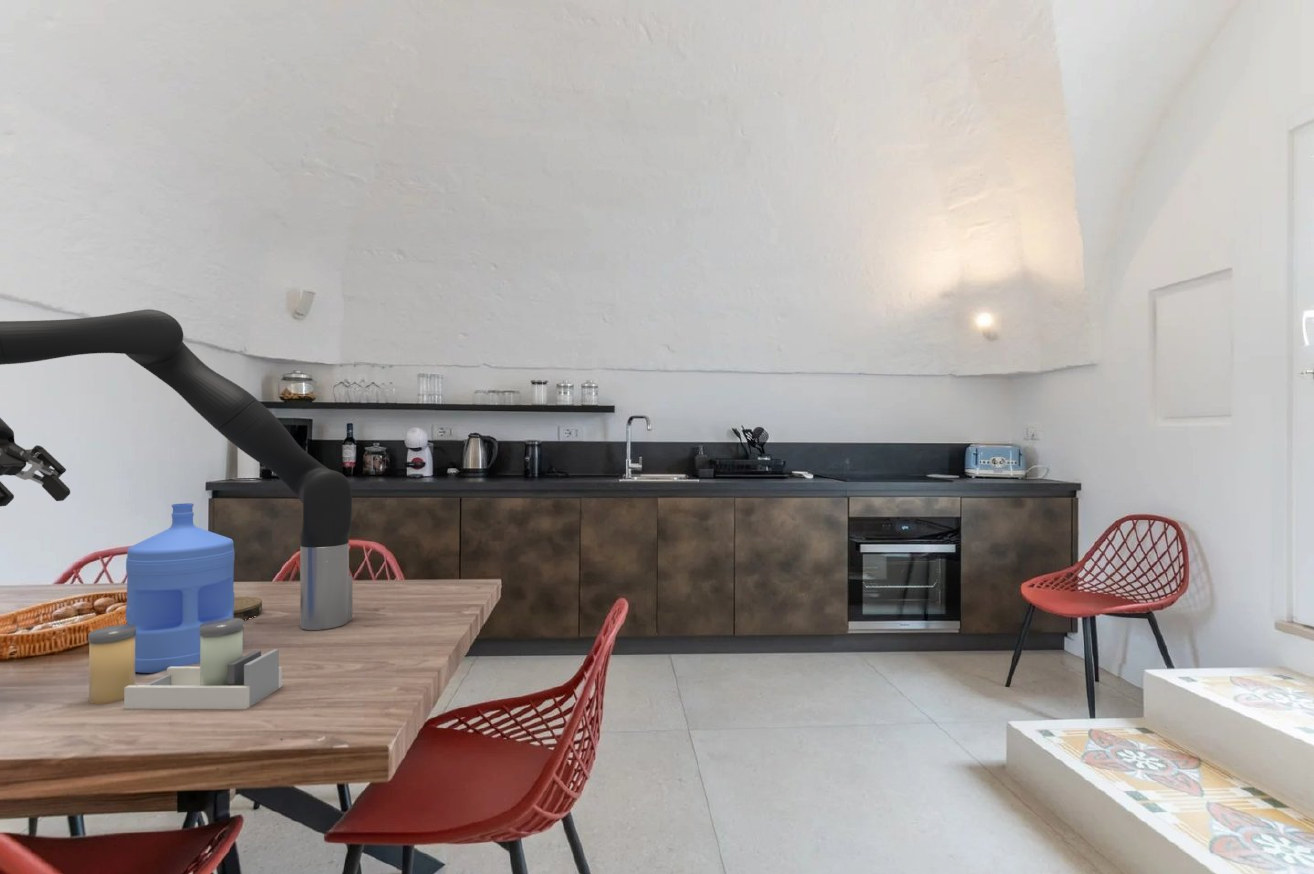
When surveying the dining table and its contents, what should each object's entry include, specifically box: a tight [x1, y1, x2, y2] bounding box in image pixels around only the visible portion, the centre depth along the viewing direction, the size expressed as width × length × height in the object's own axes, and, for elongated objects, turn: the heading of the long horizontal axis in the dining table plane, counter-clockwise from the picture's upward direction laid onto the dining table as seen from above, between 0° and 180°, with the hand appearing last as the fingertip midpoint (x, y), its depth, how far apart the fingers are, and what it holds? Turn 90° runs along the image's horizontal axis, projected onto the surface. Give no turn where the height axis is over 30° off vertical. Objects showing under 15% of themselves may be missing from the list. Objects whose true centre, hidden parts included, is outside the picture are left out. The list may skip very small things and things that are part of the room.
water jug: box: [125, 502, 236, 674], centre depth 113 cm, size 16×16×28 cm
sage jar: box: [199, 618, 244, 686], centre depth 94 cm, size 5×5×11 cm
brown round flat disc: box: [233, 596, 263, 620], centre depth 140 cm, size 16×16×3 cm
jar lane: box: [123, 648, 283, 710], centre depth 94 cm, size 18×8×7 cm, turn 89°
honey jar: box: [87, 624, 136, 705], centre depth 94 cm, size 5×5×11 cm
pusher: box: [227, 650, 262, 686], centre depth 94 cm, size 2×6×6 cm, turn 179°
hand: (37, 499), depth 94 cm, fingers open, 8 cm apart
